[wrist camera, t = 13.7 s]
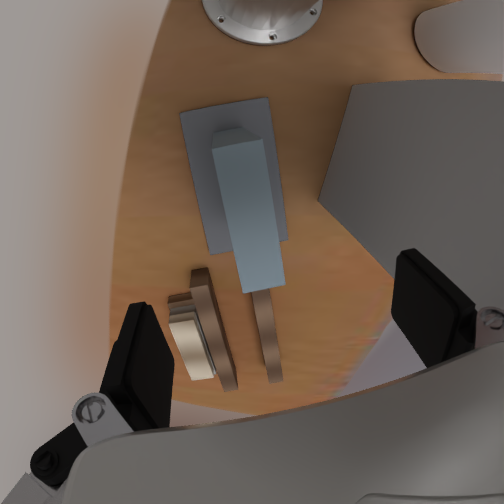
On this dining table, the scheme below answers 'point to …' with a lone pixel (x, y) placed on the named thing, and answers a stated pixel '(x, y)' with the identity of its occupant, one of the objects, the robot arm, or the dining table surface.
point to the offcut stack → (190, 337)
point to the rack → (217, 336)
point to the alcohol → (463, 36)
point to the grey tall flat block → (425, 178)
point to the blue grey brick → (248, 208)
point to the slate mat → (204, 171)
